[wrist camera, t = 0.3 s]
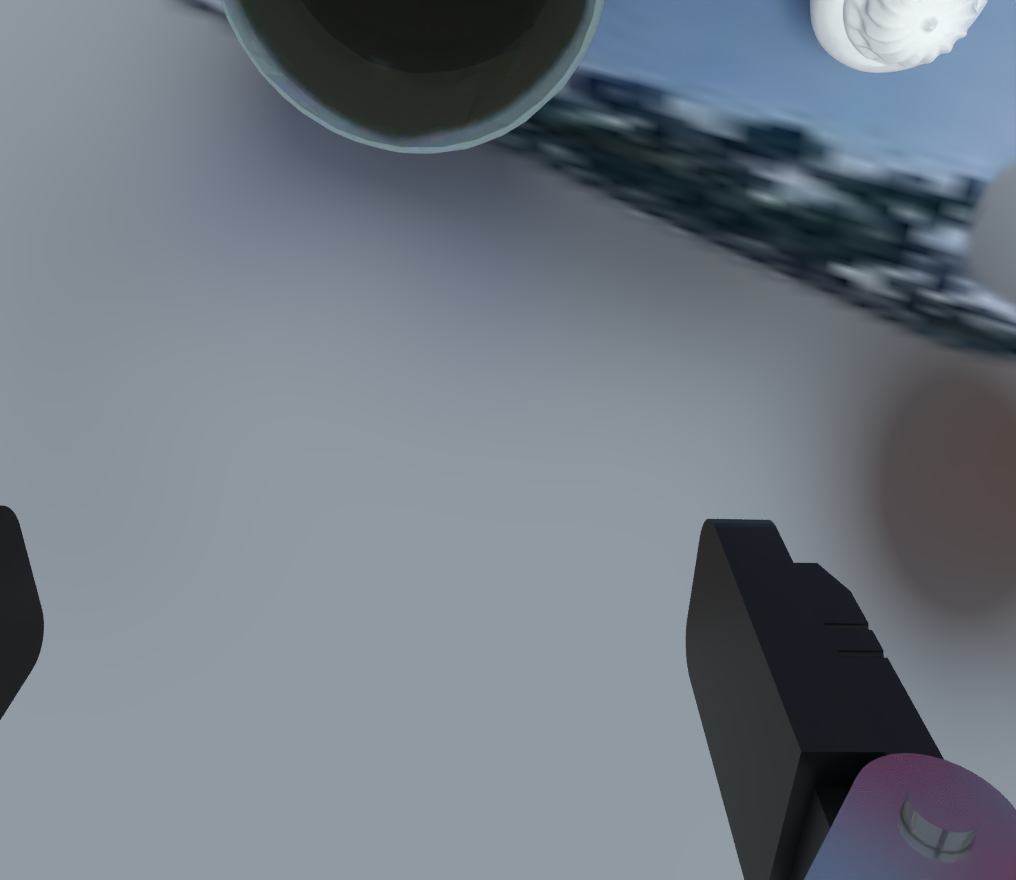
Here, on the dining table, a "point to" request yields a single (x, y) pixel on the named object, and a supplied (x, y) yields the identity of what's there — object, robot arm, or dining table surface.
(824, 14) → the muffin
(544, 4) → the grey green cup
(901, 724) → the robot arm
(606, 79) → the dining table surface
